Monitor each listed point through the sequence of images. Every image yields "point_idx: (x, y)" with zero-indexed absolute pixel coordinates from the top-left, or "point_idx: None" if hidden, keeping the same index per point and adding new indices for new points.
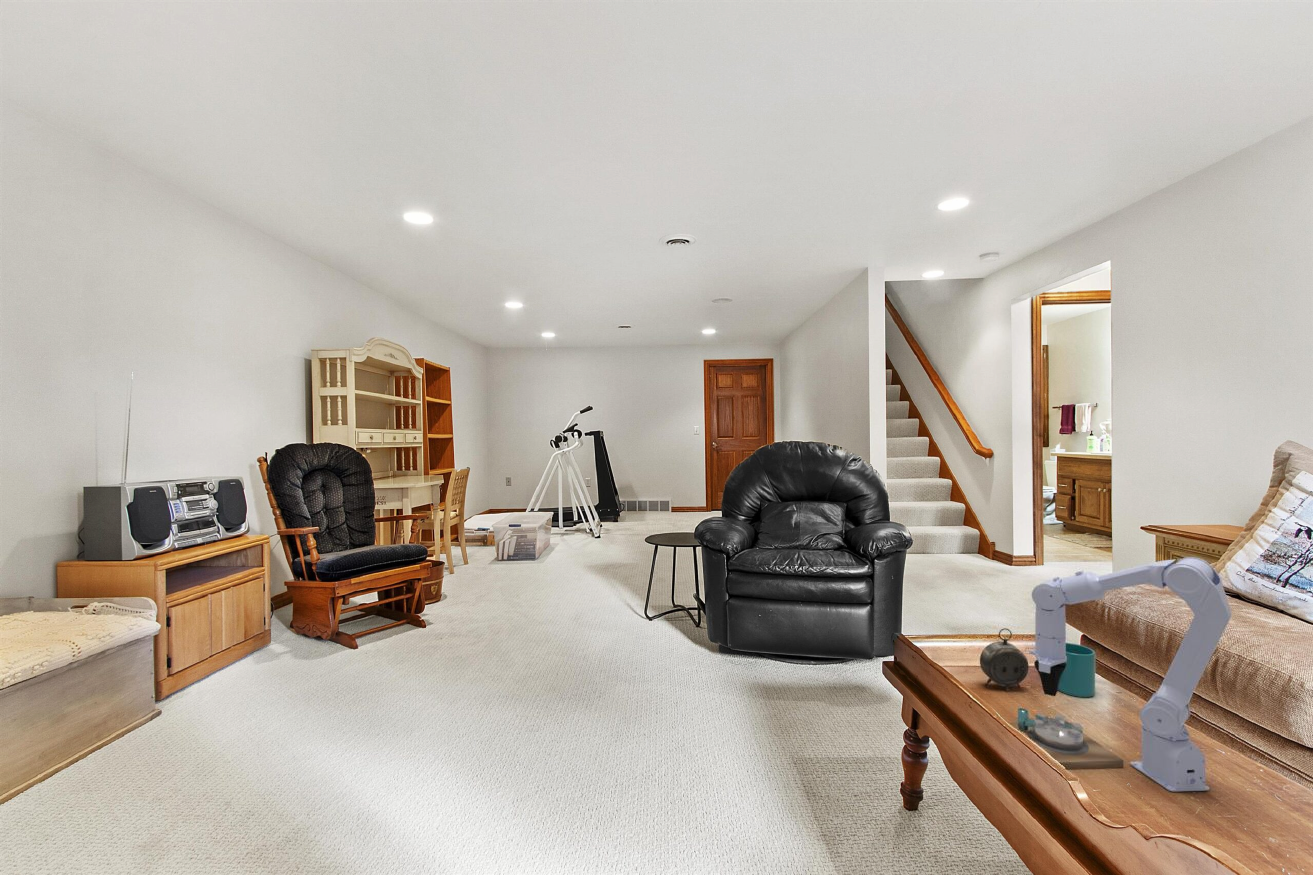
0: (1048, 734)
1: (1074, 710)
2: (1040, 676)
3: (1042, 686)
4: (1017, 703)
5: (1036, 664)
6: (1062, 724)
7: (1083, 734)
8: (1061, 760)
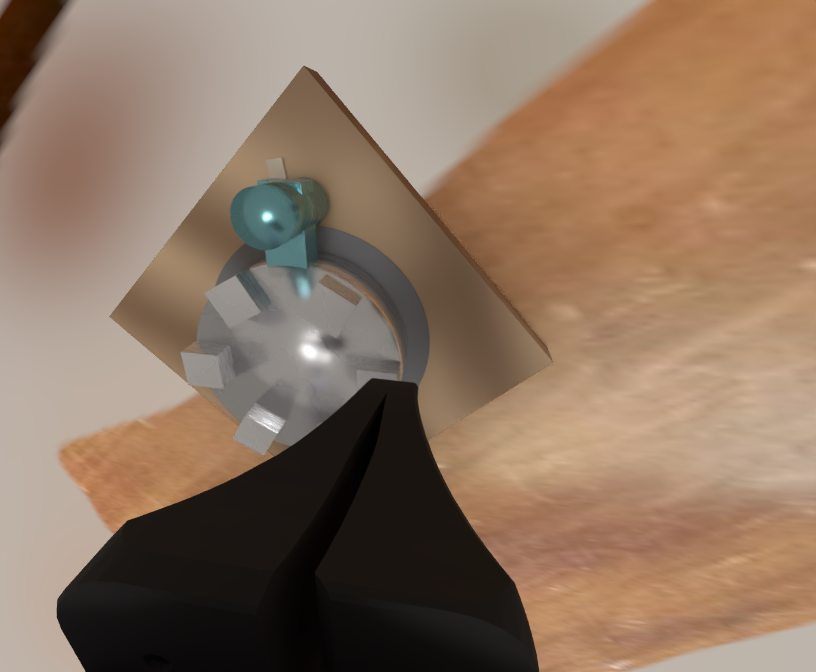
0: (198, 335)
1: (798, 375)
2: (272, 461)
3: (349, 400)
4: (792, 96)
5: (61, 594)
6: (350, 384)
7: (451, 417)
8: (166, 354)
